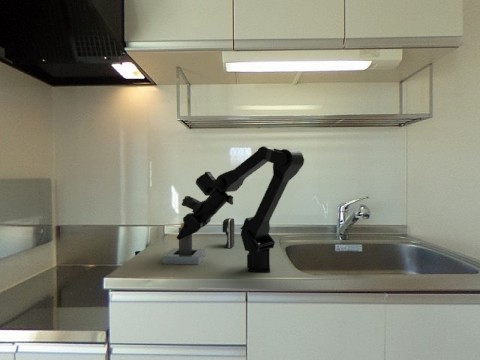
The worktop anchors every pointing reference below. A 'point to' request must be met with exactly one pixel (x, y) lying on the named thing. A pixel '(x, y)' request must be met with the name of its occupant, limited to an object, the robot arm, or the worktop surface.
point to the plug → (185, 244)
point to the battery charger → (229, 232)
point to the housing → (184, 257)
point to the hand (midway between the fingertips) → (181, 236)
